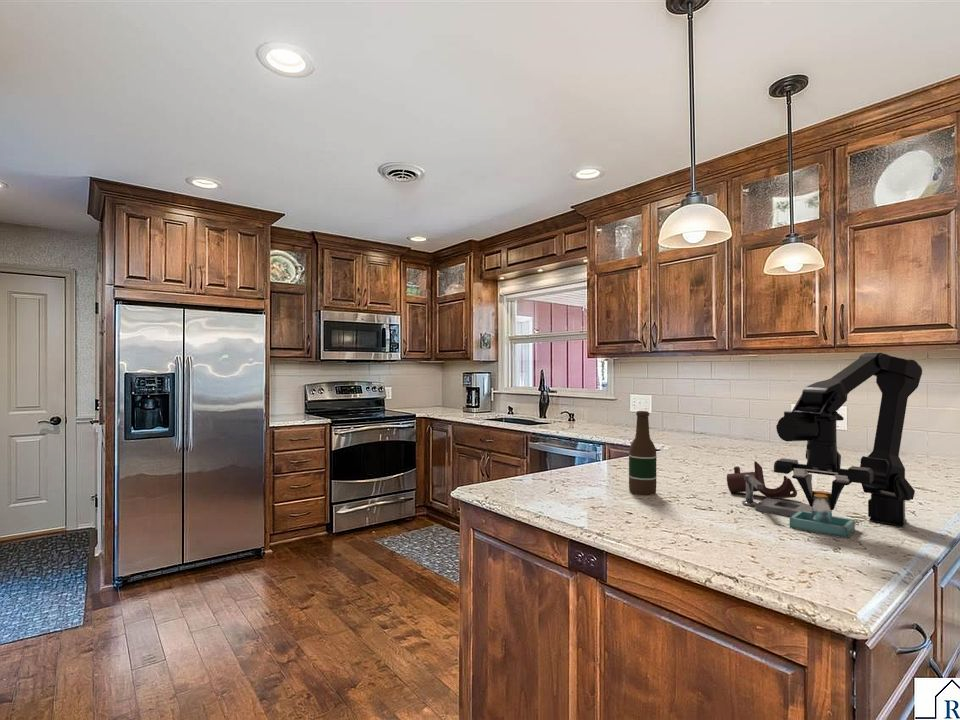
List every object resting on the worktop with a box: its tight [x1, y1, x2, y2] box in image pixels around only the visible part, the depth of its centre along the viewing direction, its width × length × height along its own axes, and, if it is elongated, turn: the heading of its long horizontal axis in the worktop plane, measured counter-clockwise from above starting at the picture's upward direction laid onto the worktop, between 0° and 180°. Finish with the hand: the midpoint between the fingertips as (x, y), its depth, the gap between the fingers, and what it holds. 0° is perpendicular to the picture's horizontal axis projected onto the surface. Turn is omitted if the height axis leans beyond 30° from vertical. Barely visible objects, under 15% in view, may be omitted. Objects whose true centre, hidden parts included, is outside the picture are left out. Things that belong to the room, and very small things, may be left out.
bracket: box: [726, 460, 798, 499], centre depth 152 cm, size 6×17×10 cm, turn 53°
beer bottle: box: [628, 410, 657, 496], centre depth 156 cm, size 8×8×24 cm
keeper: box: [744, 475, 763, 490], centre depth 138 cm, size 13×3×1 cm, turn 165°
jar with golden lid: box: [812, 490, 833, 522], centre depth 121 cm, size 4×4×6 cm
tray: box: [789, 511, 856, 539], centre depth 121 cm, size 11×9×2 cm
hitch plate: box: [741, 481, 812, 517], centre depth 138 cm, size 17×10×6 cm, turn 46°
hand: (822, 507), depth 121 cm, fingers closed on jar with golden lid, 4 cm apart
